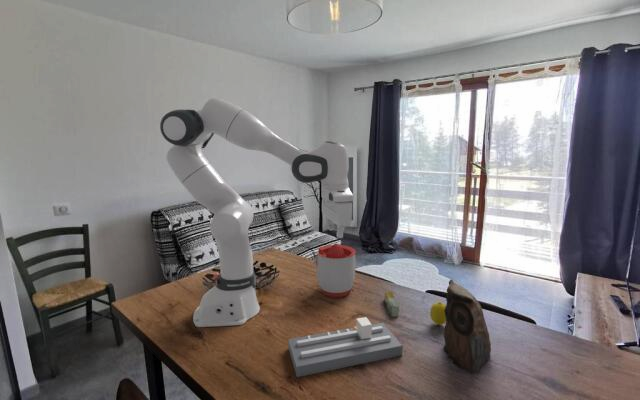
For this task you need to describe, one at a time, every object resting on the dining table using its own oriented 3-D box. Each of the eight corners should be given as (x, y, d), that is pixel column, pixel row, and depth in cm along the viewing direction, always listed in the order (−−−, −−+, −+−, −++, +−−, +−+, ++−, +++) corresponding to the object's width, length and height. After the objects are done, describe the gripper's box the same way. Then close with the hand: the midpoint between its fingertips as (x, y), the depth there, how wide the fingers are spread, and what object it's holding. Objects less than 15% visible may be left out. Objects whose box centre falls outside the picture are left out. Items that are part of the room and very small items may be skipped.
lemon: (449, 330, 101) (450, 307, 100) (430, 329, 102) (432, 305, 101) (446, 321, 106) (447, 298, 105) (428, 319, 107) (429, 297, 106)
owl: (474, 378, 81) (480, 305, 77) (428, 355, 90) (431, 288, 86) (493, 355, 89) (499, 288, 85) (448, 336, 98) (452, 274, 95)
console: (296, 377, 82) (296, 363, 81) (288, 348, 93) (287, 335, 93) (402, 355, 90) (402, 342, 89) (382, 331, 101) (382, 319, 101)
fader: (361, 342, 90) (362, 326, 89) (356, 334, 94) (356, 318, 93) (371, 340, 91) (371, 324, 90) (365, 333, 95) (366, 317, 94)
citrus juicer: (315, 281, 138) (314, 236, 134) (356, 283, 135) (356, 238, 132) (309, 299, 122) (308, 249, 119) (354, 301, 120) (355, 250, 117)
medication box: (398, 317, 110) (399, 306, 109) (390, 317, 110) (391, 306, 109) (390, 300, 121) (391, 290, 121) (383, 300, 121) (384, 290, 121)
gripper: (317, 188, 113) (317, 226, 115) (335, 197, 93) (335, 243, 96) (334, 187, 115) (334, 225, 117) (355, 196, 95) (355, 241, 98)
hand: (335, 233), depth 106 cm, fingers open, 8 cm apart
